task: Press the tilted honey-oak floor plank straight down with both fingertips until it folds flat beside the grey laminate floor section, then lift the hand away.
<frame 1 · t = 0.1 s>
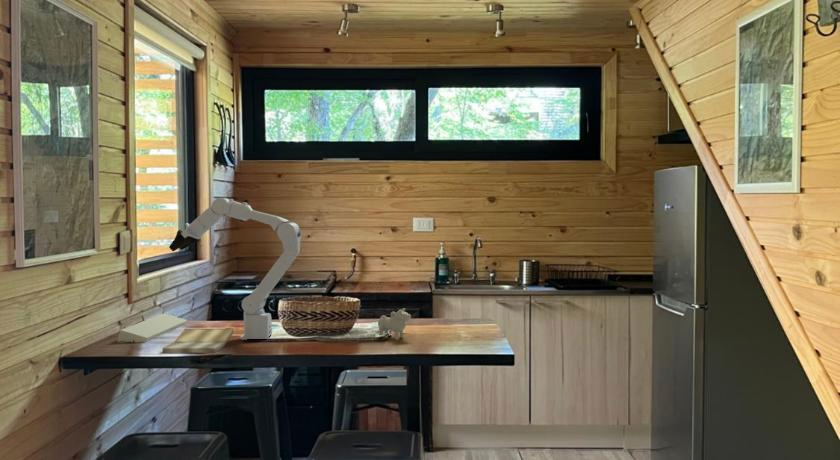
hand: (175, 248, 241), 32 cm above the table, tool tilted 50°, fingers open, 7 cm apart
oak plank: (204, 337, 234), point 2 cm above the table, hinge at 13.8°
grey animal figure: (394, 338, 241), on the table
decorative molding: (155, 334, 253), on the table
laminate section: (194, 349, 224), on the table
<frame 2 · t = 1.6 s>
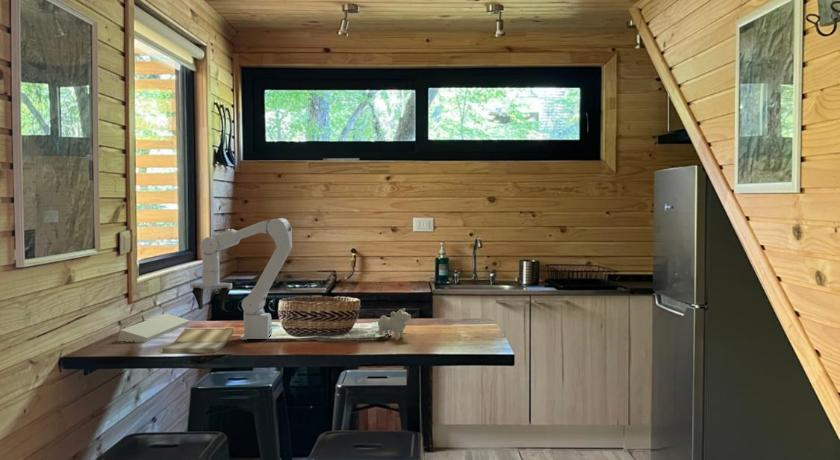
hand: (211, 308, 242), 10 cm above the table, tool pointing down, fingers open, 7 cm apart
nothing on the table moved.
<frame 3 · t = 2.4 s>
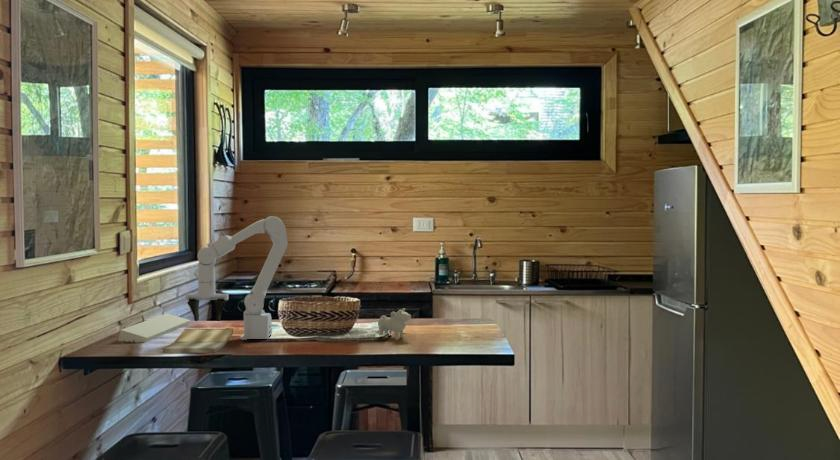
hand: (207, 320, 237), 7 cm above the table, tool pointing down, fingers open, 7 cm apart
nothing on the table moved.
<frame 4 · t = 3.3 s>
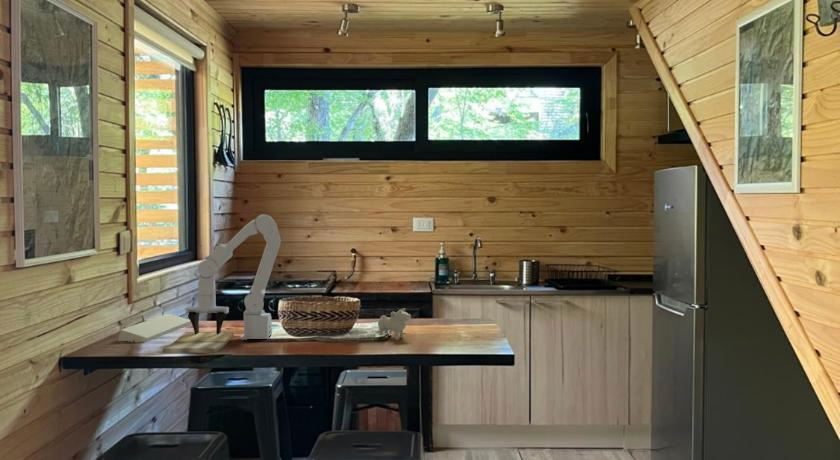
hand: (207, 333, 238), 3 cm above the table, tool pointing down
oak plank: (204, 338, 234), point 1 cm above the table, hinge at 6.5°, touching gripper
everything else where it was.
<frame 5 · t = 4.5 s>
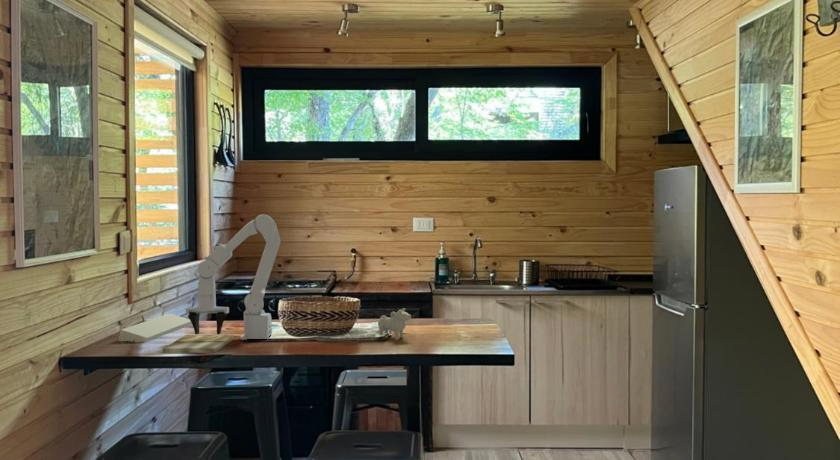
hand: (208, 333, 238), 2 cm above the table, tool pointing down, fingers open, 7 cm apart
oak plank: (204, 340, 234), point 1 cm above the table, hinge at 0.6°
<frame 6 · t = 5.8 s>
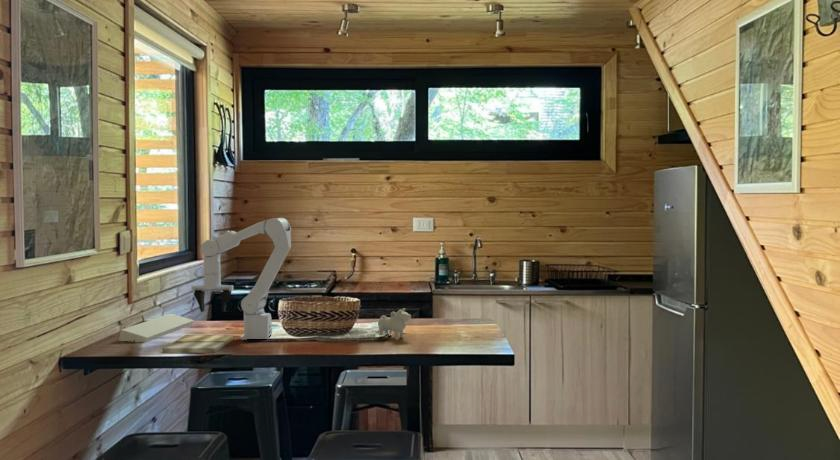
hand: (213, 311, 243), 9 cm above the table, tool pointing down, fingers open, 7 cm apart
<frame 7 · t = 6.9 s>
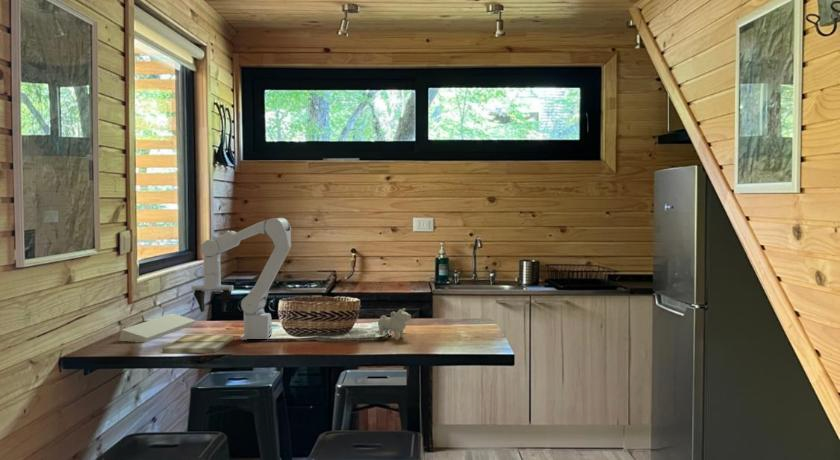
hand: (213, 311, 243), 9 cm above the table, tool pointing down, fingers open, 7 cm apart
at the end: oak plank at +1° (first picture: +14°); the gripper is holding nothing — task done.
